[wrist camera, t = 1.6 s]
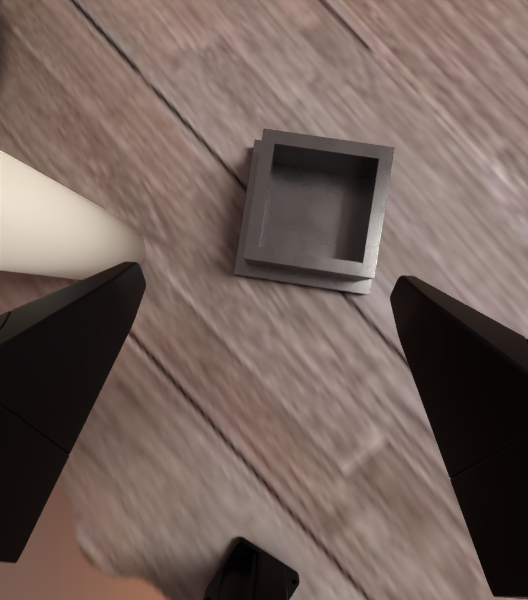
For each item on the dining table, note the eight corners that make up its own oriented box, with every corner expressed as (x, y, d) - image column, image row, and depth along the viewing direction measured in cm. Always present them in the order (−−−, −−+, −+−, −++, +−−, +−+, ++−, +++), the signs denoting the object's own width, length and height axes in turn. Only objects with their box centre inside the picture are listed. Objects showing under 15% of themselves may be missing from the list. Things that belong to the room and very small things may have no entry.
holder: (364, 294, 23) (385, 293, 19) (235, 274, 23) (228, 268, 19) (384, 165, 23) (409, 136, 19) (255, 146, 23) (252, 113, 19)
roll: (123, 295, 23) (-68, 287, 10) (69, 261, 23) (-191, 209, 10) (157, 240, 23) (11, 159, 10) (103, 207, 23) (-113, 82, 10)
